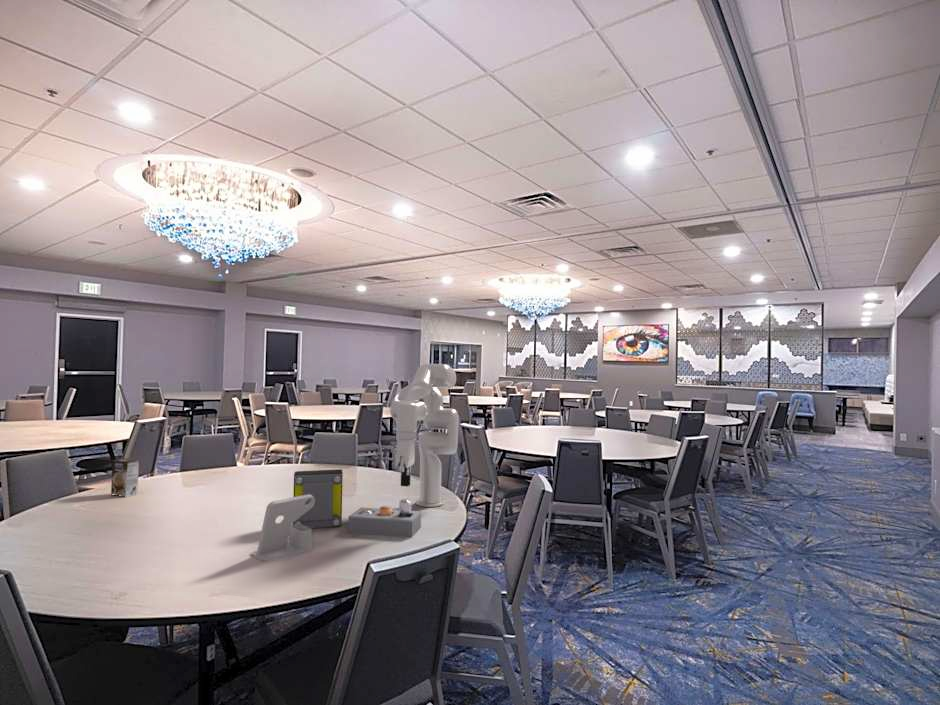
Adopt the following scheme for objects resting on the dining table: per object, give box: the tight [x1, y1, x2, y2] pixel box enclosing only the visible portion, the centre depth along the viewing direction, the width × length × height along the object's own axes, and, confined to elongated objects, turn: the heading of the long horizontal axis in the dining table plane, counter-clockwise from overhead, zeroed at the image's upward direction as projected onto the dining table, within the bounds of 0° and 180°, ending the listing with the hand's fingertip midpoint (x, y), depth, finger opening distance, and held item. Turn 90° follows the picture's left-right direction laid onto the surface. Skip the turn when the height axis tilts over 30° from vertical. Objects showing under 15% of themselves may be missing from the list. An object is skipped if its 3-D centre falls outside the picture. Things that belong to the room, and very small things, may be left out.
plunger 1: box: [360, 509, 372, 515], centre depth 196 cm, size 4×4×5 cm
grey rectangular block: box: [348, 507, 422, 538], centre depth 194 cm, size 12×24×6 cm, turn 80°
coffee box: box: [110, 458, 140, 497], centre depth 240 cm, size 9×6×16 cm
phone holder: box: [250, 494, 315, 563], centre depth 171 cm, size 17×10×18 cm, turn 138°
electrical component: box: [292, 468, 343, 529], centre depth 199 cm, size 18×10×20 cm, turn 105°
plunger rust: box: [379, 505, 393, 516], centre depth 194 cm, size 4×4×5 cm
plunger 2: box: [398, 498, 412, 517], centre depth 193 cm, size 4×4×5 cm
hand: (405, 485), depth 193 cm, fingers closed
